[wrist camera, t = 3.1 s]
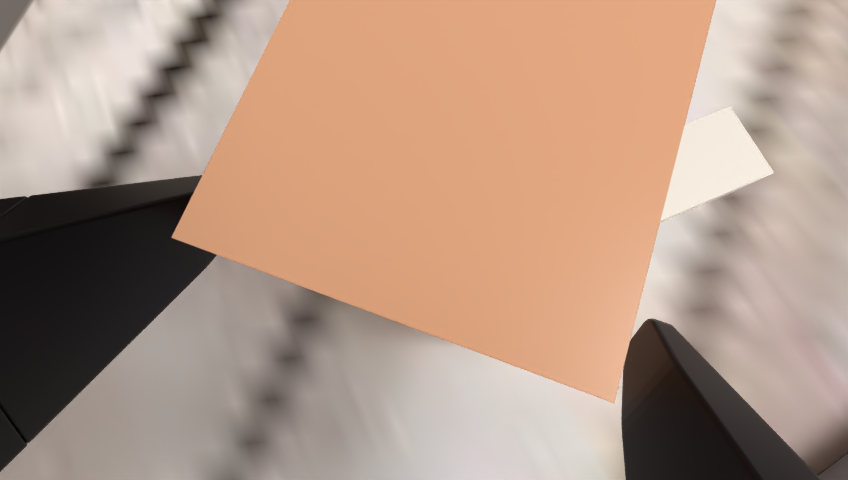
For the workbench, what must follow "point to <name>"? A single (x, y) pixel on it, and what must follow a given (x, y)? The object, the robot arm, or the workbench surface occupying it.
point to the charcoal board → (836, 470)
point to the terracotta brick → (463, 167)
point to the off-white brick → (712, 163)
